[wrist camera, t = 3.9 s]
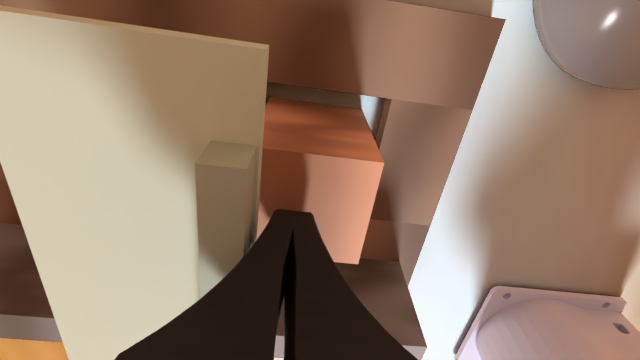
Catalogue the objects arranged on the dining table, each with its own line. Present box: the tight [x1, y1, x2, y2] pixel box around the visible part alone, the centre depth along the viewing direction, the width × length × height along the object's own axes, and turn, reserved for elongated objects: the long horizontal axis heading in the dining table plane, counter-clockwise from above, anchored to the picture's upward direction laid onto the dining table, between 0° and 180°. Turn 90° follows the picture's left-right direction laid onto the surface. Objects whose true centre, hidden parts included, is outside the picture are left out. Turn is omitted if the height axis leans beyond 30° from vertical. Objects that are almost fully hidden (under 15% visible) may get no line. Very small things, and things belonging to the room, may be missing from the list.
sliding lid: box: [0, 5, 269, 360], centre depth 10 cm, size 7×13×2 cm, turn 172°
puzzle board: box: [0, 0, 506, 360], centre depth 14 cm, size 26×15×7 cm, turn 82°
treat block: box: [257, 97, 384, 264], centre depth 15 cm, size 4×4×6 cm
